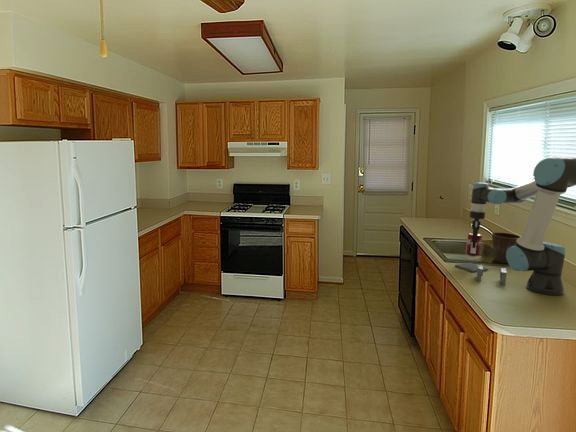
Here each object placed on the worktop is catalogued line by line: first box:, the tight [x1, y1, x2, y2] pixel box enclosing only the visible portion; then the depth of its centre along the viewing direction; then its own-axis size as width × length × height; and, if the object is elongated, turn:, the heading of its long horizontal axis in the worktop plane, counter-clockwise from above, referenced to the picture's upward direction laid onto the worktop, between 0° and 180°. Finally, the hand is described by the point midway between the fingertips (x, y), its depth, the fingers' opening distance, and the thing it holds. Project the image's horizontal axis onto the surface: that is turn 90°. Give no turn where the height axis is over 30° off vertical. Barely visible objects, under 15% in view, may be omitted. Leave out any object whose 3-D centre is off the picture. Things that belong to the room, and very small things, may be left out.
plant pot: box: [491, 232, 522, 264], centre depth 244 cm, size 15×15×16 cm
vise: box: [476, 264, 508, 286], centre depth 208 cm, size 8×13×6 cm, turn 65°
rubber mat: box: [454, 262, 489, 274], centre depth 229 cm, size 12×12×1 cm
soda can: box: [465, 232, 483, 258], centre depth 227 cm, size 7×7×12 cm
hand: (473, 251), depth 227 cm, fingers closed on soda can, 7 cm apart
